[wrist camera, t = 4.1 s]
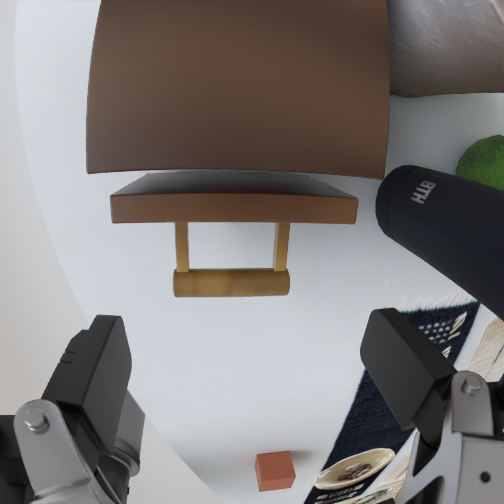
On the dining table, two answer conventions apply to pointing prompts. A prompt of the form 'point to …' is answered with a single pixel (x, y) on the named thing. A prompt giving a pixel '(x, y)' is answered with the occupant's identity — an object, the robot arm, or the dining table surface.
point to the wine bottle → (448, 227)
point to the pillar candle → (445, 46)
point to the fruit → (484, 162)
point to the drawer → (231, 220)
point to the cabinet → (240, 86)
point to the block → (274, 471)
